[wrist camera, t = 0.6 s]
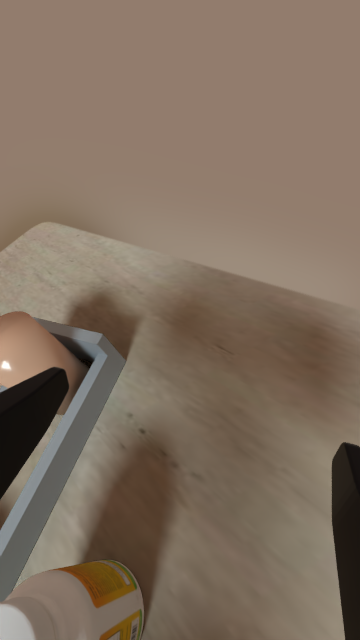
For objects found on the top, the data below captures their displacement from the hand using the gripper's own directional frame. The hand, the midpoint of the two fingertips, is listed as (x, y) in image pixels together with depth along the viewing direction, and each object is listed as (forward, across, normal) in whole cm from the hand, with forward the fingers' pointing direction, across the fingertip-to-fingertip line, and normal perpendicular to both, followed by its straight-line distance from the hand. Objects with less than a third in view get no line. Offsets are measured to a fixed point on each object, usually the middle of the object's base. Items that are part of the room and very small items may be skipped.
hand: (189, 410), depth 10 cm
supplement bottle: (-2, +4, +18) cm, 19 cm away
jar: (+10, +14, +14) cm, 22 cm away
